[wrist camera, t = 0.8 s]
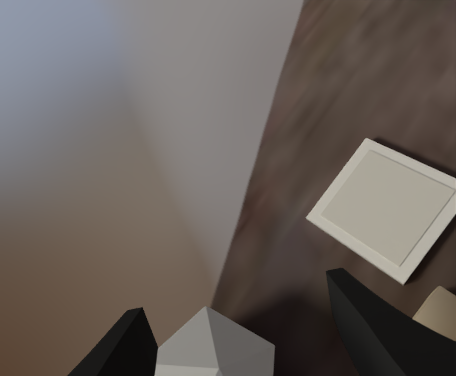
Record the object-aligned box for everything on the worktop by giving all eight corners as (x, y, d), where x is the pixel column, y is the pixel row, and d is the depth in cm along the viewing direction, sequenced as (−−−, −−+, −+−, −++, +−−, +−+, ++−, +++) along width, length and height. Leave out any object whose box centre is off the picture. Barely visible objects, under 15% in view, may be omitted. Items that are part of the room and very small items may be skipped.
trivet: (473, 191, 22) (475, 186, 22) (403, 285, 22) (403, 283, 21) (366, 142, 27) (366, 137, 26) (308, 220, 27) (305, 217, 26)
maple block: (518, 353, 19) (561, 364, 14) (466, 424, 19) (491, 461, 14) (429, 294, 21) (439, 285, 16) (384, 356, 21) (380, 365, 16)
